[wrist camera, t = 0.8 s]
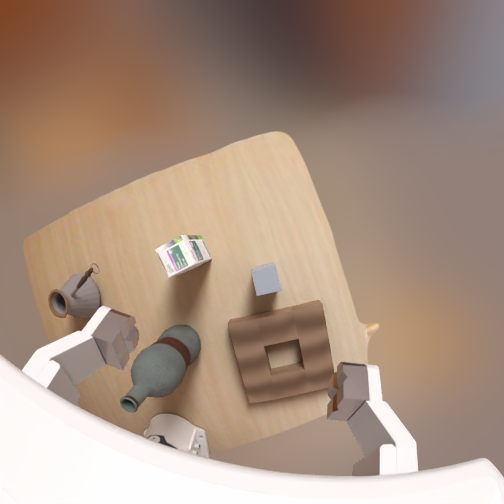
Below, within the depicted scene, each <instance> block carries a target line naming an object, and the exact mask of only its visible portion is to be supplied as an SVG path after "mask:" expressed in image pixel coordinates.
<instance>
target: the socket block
mask: <svg viewBox="0 0 504 504" xmlns="http://www.w3.org/2000/svg"><path fill="white" fill-rule="evenodd" d="M228 328H229V332H230V335H231V339H232V343H233V347H234V350H235V354H236V358H237V361H238V365H239V368H240V372H241V375H242V379H243V382H244V386H245V389H246V393H247V396H248V400H249V403H250V404H251V403H257V402H263V401H269V400H274V399H279V398H285V397H289V396H294V395H299V394H303V393H308V392H312V391H316V390H320V389H324V388H328V387H329V382H330V379H331V377H332V375H333V373H334V369H333V362H332V356H331V350H330V344H329V338H328V332H327V327H326V321H325V316H324V310H323V305H322V303H321V302H320V301H319V300H317V301H313V302H308V303H304V304H300V305H296V306H292V307H287V308H283V309H279V310H274V311H270V312H265V313H260V314H256V315H251V316H246V317H241V318H236V319H231V320H230V321H229V323H228ZM295 339H298V341H299V346H300V351H301V356H302V361H303V362H301V363H296V364H292V365H287V366H283V367H278V368H273V369H271V367H270V363H269V359H268V355H267V351H266V347H265V346H268V345H272V344H277V343H282V342H286V341H291V340H295Z"/></svg>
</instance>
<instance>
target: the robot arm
mask: <svg viewBox="0 0 504 504" xmlns="http://www.w3.org/2000/svg"><path fill="white" fill-rule="evenodd" d="M135 323H136V321H135V317H134V316H131V315H128V314H125V313H122V312H119V311H117V310H114V309H111V308H108V307H105V306H102V307H100V308H99V309H98V310H97V311H96V313H95V314H94V315H93V317H92V318H91V319H90V321H89V322H88V323H87V324H86V326H85V327H84V328H83V330H82V331H77V332H75V333H72V334H70V335H68V336H66V337H64V338H62V339H59V340H57V341H55V342H53V343H51V344H49V345H46V346H44V347H42V348H40V349H38V350H37V351H36V352H35V353H34V355H33V356H32V357H31V359H30V360H29V362H28V363H27V364H26V366H25V367H24V368H23V370H22V371H21V370H19V369H18V368H17V367H16V366H14V365H13V364H12V363H10V362H9V361H8V360H7V359H5V358H4V357H3V356H1V355H0V504H504V478H503V476H502V475H501V473H500V472H499V471H498V470H497V469H496V468H495V466H494V465H493V464H492V463H491V462H490V461H489V460H487V459H486V458H479V459H475V460H472V461H468V462H464V463H460V464H455V465H451V466H446V467H441V468H435V469H430V470H423V471H418V463H417V448H416V441H415V440H414V439H413V437H412V436H411V435H410V433H409V432H408V431H407V429H406V428H405V427H404V425H403V424H402V423H401V421H400V420H399V419H398V417H397V416H396V415H395V413H394V412H393V411H392V409H391V408H390V407H389V405H388V404H387V403H386V402H384V401H382V391H381V382H380V374H379V368H378V366H375V365H365V364H357V363H347V362H341V363H339V365H338V366H337V372H335V373H333V375H332V377H331V379H330V382H329V387H328V396H329V397H330V399H331V401H330V402H329V403H328V407H327V419H331V420H340V421H347V424H348V425H349V427H350V429H351V431H352V433H353V435H354V437H355V438H356V440H357V442H358V444H359V446H360V448H361V450H362V452H363V454H364V455H365V457H364V458H363V459H361V460H359V461H358V462H356V463H355V464H354V465H353V472H352V476H322V475H306V474H295V473H285V472H277V471H270V470H263V469H257V468H250V467H245V466H241V465H236V464H231V463H226V462H222V461H217V460H213V459H210V454H209V448H208V442H207V436H206V431H205V430H203V429H201V428H199V427H196V426H194V425H193V424H191V423H190V422H189V421H187V420H186V419H184V418H182V417H180V416H177V415H173V414H159V415H156V416H155V417H153V418H152V420H151V421H150V424H149V427H148V428H147V429H146V430H145V431H144V437H142V436H139V435H137V434H134V433H132V432H129V431H127V430H125V429H123V428H120V427H118V426H116V425H114V424H111V423H109V422H107V421H105V420H103V419H101V418H99V417H97V416H95V415H93V414H91V413H89V412H87V411H85V410H83V409H81V408H80V407H78V406H76V404H77V402H78V400H79V399H80V397H81V396H80V393H79V392H78V390H77V389H76V388H75V385H76V384H78V383H79V382H81V381H83V380H84V379H86V378H87V377H89V376H90V375H92V374H93V373H95V372H96V371H98V370H99V369H101V368H102V367H104V366H105V365H106V364H108V365H110V366H113V367H115V368H118V369H121V370H123V369H124V367H125V366H126V364H127V362H128V360H129V359H130V358H129V353H130V352H132V351H134V350H135V348H136V346H137V344H138V340H139V332H138V329H137V328H136V327H135V326H134V325H135Z"/></svg>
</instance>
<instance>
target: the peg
mask: <svg viewBox="0 0 504 504" xmlns="http://www.w3.org/2000/svg"><path fill="white" fill-rule="evenodd" d="M251 273H252V278H253V282H254V286H255V290H256V295H257V296H259V295H264V294H268V293H273V292H277V291H281V288H280V283H279V279H278V274H277V270H276V266H275V263H270V264H265V265H261V266H257V267H254V268H253V270H252V271H251Z"/></svg>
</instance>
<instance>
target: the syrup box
mask: <svg viewBox="0 0 504 504" xmlns="http://www.w3.org/2000/svg"><path fill="white" fill-rule="evenodd" d="M156 252H157V254H158V256H159V259H160V261H161V263H162V266H163V268H164V270H165V272H166V274H167V276H168V278H172V277H174V276H177V275H179V274H182V273H184V272H187V271H189V270H192V269H194V268H196V267H198V266H200V265H201V264H203V263H205V262H207V261H209V260H211V259H212V257H211V255H210V253H209V251H208V249H207V247H206V244H205V242H204V240H203V239H202V236H194V235H180V236H179V237H177V238H175V239H173V240H171V241H169V242H168V243H166V244H164V245H162V246H161V247H159V248H157V249H156Z"/></svg>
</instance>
